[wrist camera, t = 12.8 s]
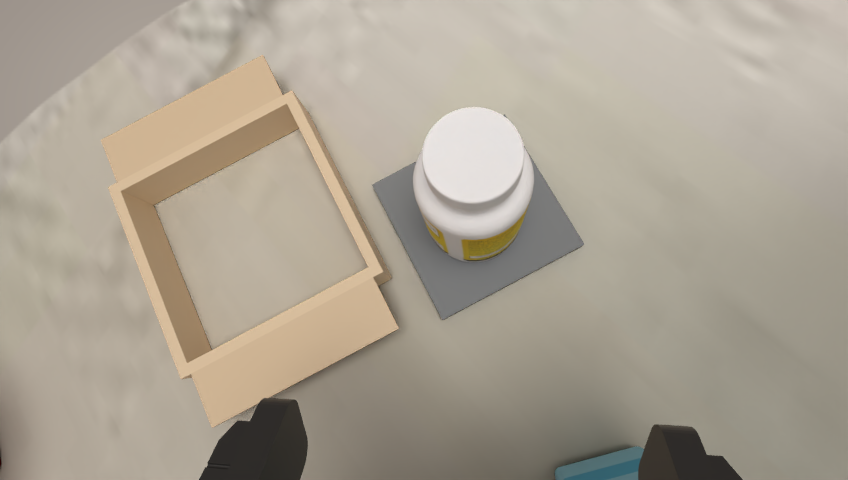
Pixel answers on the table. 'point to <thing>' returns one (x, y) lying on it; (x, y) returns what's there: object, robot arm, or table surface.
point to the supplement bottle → (473, 183)
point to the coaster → (473, 281)
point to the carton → (134, 200)
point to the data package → (604, 467)
